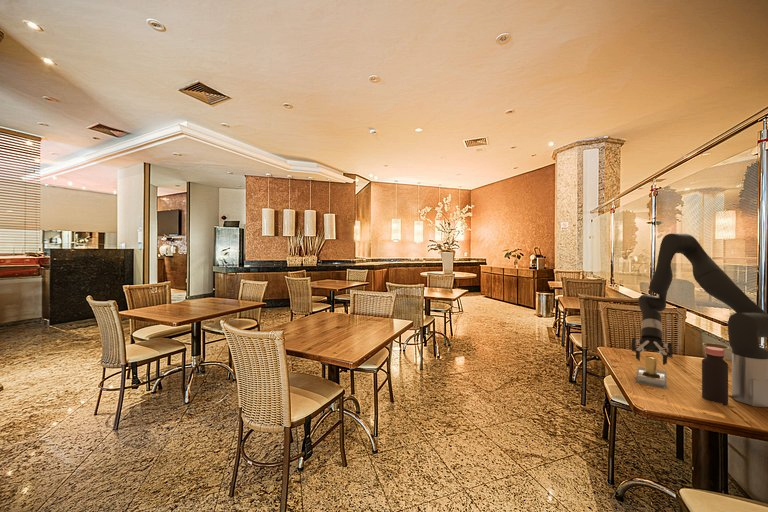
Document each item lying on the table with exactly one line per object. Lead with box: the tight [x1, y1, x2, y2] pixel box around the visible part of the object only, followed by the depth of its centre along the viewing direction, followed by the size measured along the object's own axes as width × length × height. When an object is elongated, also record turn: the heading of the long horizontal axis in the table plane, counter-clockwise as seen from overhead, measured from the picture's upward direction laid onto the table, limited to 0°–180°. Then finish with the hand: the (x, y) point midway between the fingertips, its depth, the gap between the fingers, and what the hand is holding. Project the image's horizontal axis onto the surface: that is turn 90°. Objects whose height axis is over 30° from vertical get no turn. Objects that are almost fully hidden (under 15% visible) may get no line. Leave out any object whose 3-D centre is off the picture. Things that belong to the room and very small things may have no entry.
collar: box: [637, 370, 665, 387], centre depth 136 cm, size 9×9×2 cm
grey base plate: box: [634, 366, 668, 390], centre depth 140 cm, size 24×10×1 cm, turn 139°
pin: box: [644, 355, 658, 378], centre depth 136 cm, size 4×4×10 cm
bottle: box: [701, 347, 729, 407], centre depth 119 cm, size 7×7×20 cm
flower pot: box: [702, 342, 730, 362], centre depth 159 cm, size 9×9×9 cm
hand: (651, 361), depth 141 cm, fingers open, 8 cm apart
